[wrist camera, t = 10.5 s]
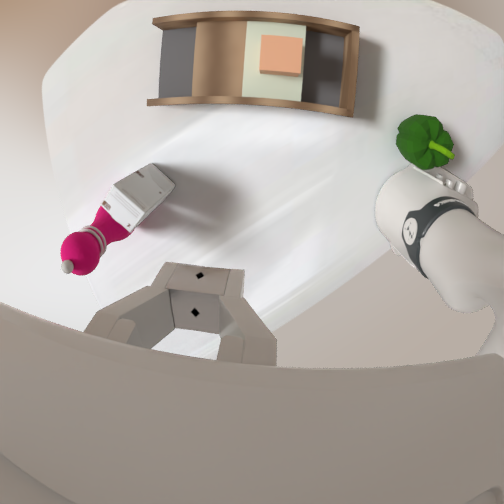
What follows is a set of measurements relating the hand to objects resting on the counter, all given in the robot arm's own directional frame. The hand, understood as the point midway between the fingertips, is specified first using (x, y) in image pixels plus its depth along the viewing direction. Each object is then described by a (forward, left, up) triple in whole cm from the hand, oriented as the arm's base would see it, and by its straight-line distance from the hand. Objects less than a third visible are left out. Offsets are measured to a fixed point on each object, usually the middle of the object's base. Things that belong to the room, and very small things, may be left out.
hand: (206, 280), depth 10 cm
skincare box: (+16, +6, -34) cm, 38 cm away
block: (-3, -14, -31) cm, 34 cm away
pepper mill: (+22, +11, -34) cm, 42 cm away
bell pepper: (-25, -6, -34) cm, 42 cm away
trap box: (+1, -14, -34) cm, 36 cm away
